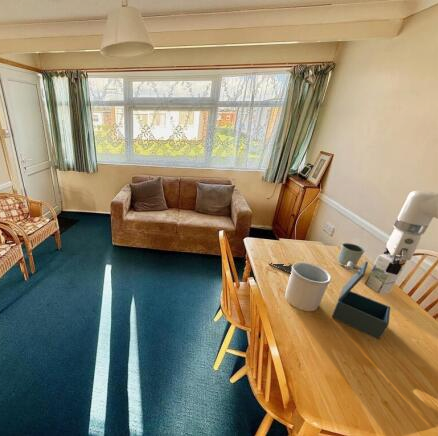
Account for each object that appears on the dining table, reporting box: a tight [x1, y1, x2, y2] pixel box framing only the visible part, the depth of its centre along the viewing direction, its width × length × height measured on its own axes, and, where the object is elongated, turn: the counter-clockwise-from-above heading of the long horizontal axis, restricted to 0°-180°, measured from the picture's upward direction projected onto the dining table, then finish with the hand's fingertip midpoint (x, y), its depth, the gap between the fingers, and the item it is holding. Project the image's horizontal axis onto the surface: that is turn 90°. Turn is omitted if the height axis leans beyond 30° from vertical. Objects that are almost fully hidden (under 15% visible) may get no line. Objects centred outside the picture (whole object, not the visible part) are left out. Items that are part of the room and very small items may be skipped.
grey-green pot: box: [337, 242, 365, 267], centre depth 135 cm, size 10×10×12 cm
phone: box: [271, 263, 293, 274], centre depth 135 cm, size 8×1×15 cm
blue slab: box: [337, 261, 369, 302], centre depth 99 cm, size 16×13×6 cm
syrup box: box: [364, 254, 407, 294], centre depth 88 cm, size 6×6×14 cm
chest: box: [331, 290, 391, 340], centre depth 98 cm, size 16×13×9 cm
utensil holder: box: [284, 261, 332, 312], centre depth 107 cm, size 15×15×18 cm
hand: (388, 267), depth 87 cm, fingers closed on syrup box, 8 cm apart
